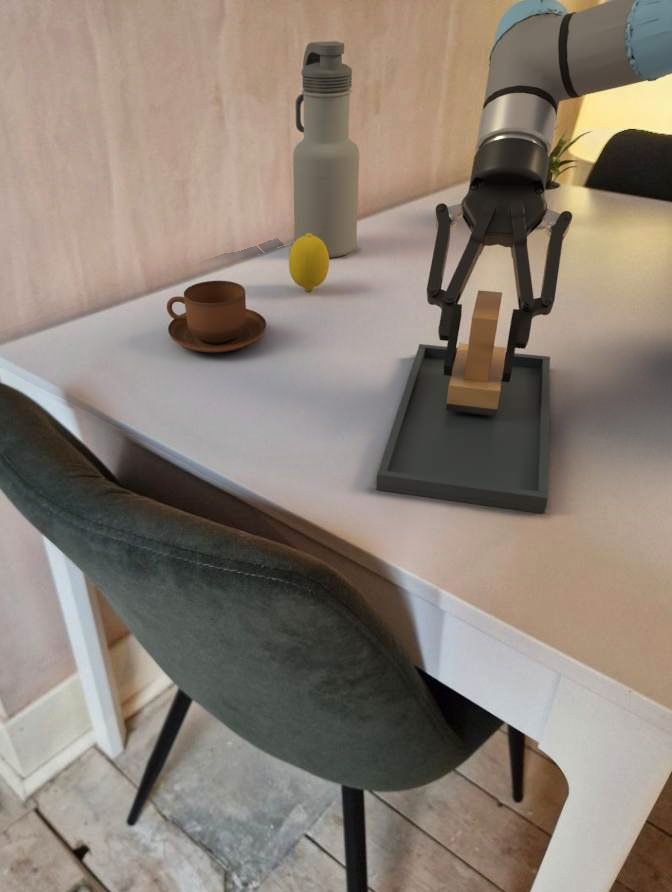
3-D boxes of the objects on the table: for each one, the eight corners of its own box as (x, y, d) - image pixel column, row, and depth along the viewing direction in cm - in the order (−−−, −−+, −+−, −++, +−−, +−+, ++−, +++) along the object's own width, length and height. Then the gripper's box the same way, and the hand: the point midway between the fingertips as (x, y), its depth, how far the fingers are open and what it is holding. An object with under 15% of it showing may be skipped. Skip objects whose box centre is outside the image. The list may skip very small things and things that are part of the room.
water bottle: (285, 242, 124) (281, 41, 107) (341, 235, 126) (345, 36, 109) (306, 262, 116) (304, 48, 99) (365, 254, 118) (374, 44, 101)
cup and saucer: (171, 365, 89) (165, 315, 85) (168, 324, 99) (162, 277, 95) (273, 356, 90) (271, 306, 87) (260, 316, 100) (257, 270, 96)
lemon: (299, 281, 110) (298, 225, 105) (334, 287, 108) (336, 229, 103) (282, 295, 106) (281, 236, 101) (318, 301, 104) (319, 242, 99)
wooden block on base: (456, 366, 85) (466, 283, 79) (502, 371, 84) (516, 287, 78) (445, 410, 77) (456, 322, 71) (496, 416, 76) (511, 327, 70)
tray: (418, 357, 90) (419, 343, 89) (547, 370, 86) (550, 356, 85) (375, 489, 68) (376, 474, 67) (544, 513, 65) (547, 497, 64)
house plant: (464, 222, 130) (477, 116, 120) (511, 205, 137) (527, 104, 127) (537, 241, 121) (557, 129, 111) (583, 222, 129) (606, 115, 119)
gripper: (597, 181, 79) (566, 396, 77) (424, 173, 84) (389, 376, 81) (612, 137, 72) (578, 372, 70) (422, 130, 76) (383, 351, 74)
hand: (476, 373), depth 75 cm, fingers closed on wooden block on base, 5 cm apart
